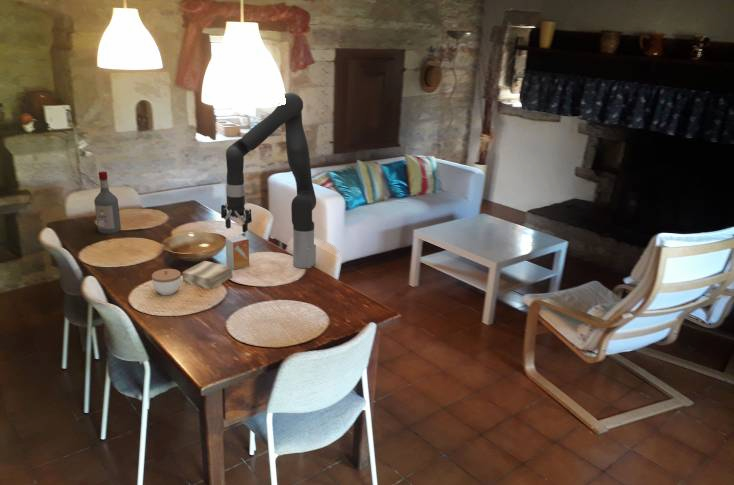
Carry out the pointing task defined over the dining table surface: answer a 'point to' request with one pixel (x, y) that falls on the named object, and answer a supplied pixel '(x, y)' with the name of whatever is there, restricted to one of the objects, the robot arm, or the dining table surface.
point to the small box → (237, 252)
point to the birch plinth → (207, 274)
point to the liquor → (106, 208)
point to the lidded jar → (166, 281)
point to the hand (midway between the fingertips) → (236, 229)
